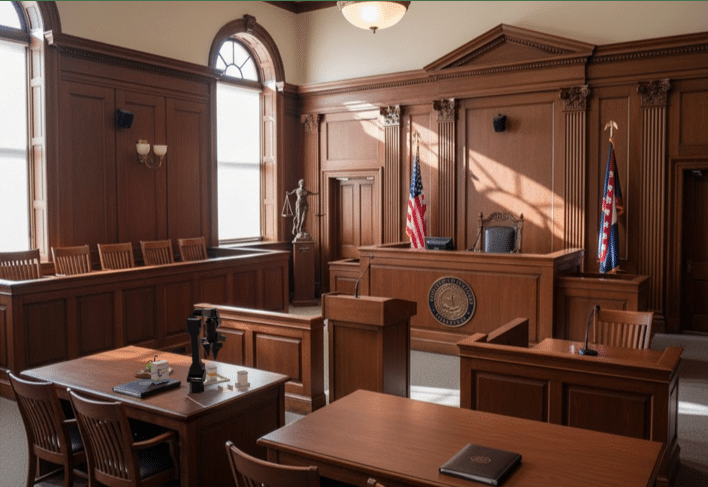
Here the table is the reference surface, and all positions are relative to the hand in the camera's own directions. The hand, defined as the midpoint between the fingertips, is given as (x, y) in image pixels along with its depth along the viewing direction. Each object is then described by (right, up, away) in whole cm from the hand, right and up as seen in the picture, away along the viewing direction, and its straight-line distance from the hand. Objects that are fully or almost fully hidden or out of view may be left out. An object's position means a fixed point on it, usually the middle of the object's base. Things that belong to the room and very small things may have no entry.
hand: (211, 357), depth 368 cm
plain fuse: (+19, -13, -13) cm, 27 cm away
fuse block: (+15, -14, -16) cm, 26 cm away
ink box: (-28, -14, -2) cm, 31 cm away
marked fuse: (0, -13, 0) cm, 13 cm away
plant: (-37, -13, +18) cm, 43 cm away
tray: (0, -13, 0) cm, 13 cm away
